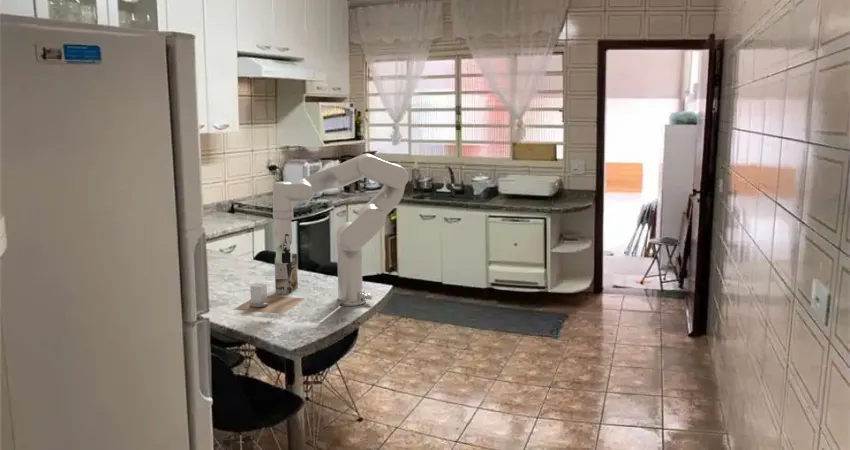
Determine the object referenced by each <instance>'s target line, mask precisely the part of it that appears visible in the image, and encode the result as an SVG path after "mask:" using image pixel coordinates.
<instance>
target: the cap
mask: <svg viewBox="0 0 850 450" xmlns="http://www.w3.org/2000/svg"><path fill="white" fill-rule="evenodd" d="M284 249H285V247H284ZM282 253H283V251H282V247H276V249H275V257H276V262H277V263H279V264H288V263H282ZM290 254H291V262H292V254H293V248H292V247H291V246H290Z"/></svg>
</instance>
